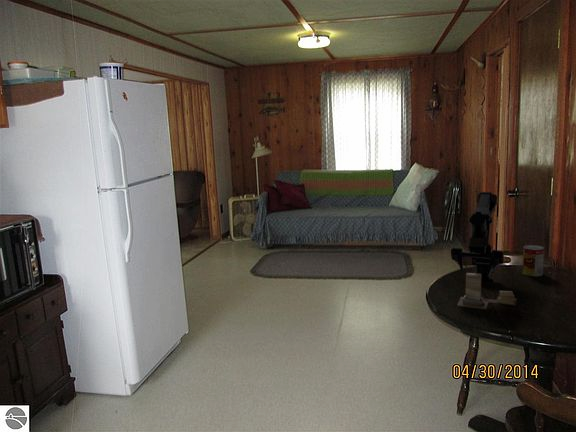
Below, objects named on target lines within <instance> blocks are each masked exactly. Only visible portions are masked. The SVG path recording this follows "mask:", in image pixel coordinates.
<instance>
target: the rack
mask: <svg viewBox="0 0 576 432" xmlns="http://www.w3.org/2000/svg"><path fill="white" fill-rule="evenodd" d="M489 303H490V304H491V303H493V304H500V305H501V304H502V305H506V304H505V303H499V296H497V299H491V298H489V299H488V298H484V296H481V301H479V300H470V299H466V294H464V296H460V298H459V301H458V302H457V305H456V306H457V307H462V308H463V307H464V308H472V309H478V310H479V309H480V310H487V307H488V304H489ZM507 305H510V306H517V298H514V304H507Z"/></svg>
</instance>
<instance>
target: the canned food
mask: <svg viewBox="0 0 576 432" xmlns="http://www.w3.org/2000/svg"><path fill="white" fill-rule="evenodd" d="M522 249H523V250H522V253H523V254H522V274H523V275H525V276H529V277H541V276H543V274H544V273H543V271H544V252H545V250H544V249H545V247H544V246H542V245H536V244H527V245H526V244H525V245H524V246H523V248H522Z"/></svg>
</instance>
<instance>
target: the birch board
mask: <svg viewBox="0 0 576 432" xmlns="http://www.w3.org/2000/svg"><path fill="white" fill-rule="evenodd" d="M465 295H466V299H470V300H479V301H481V297H482V280H481V274H476V272H466V274H465Z"/></svg>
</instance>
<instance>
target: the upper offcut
mask: <svg viewBox="0 0 576 432" xmlns="http://www.w3.org/2000/svg"><path fill="white" fill-rule="evenodd" d="M498 293H499V294H498V295H500V298H501V299H507V300H514V299H515V294H514V293H513V291H512V290H499V292H498Z"/></svg>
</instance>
